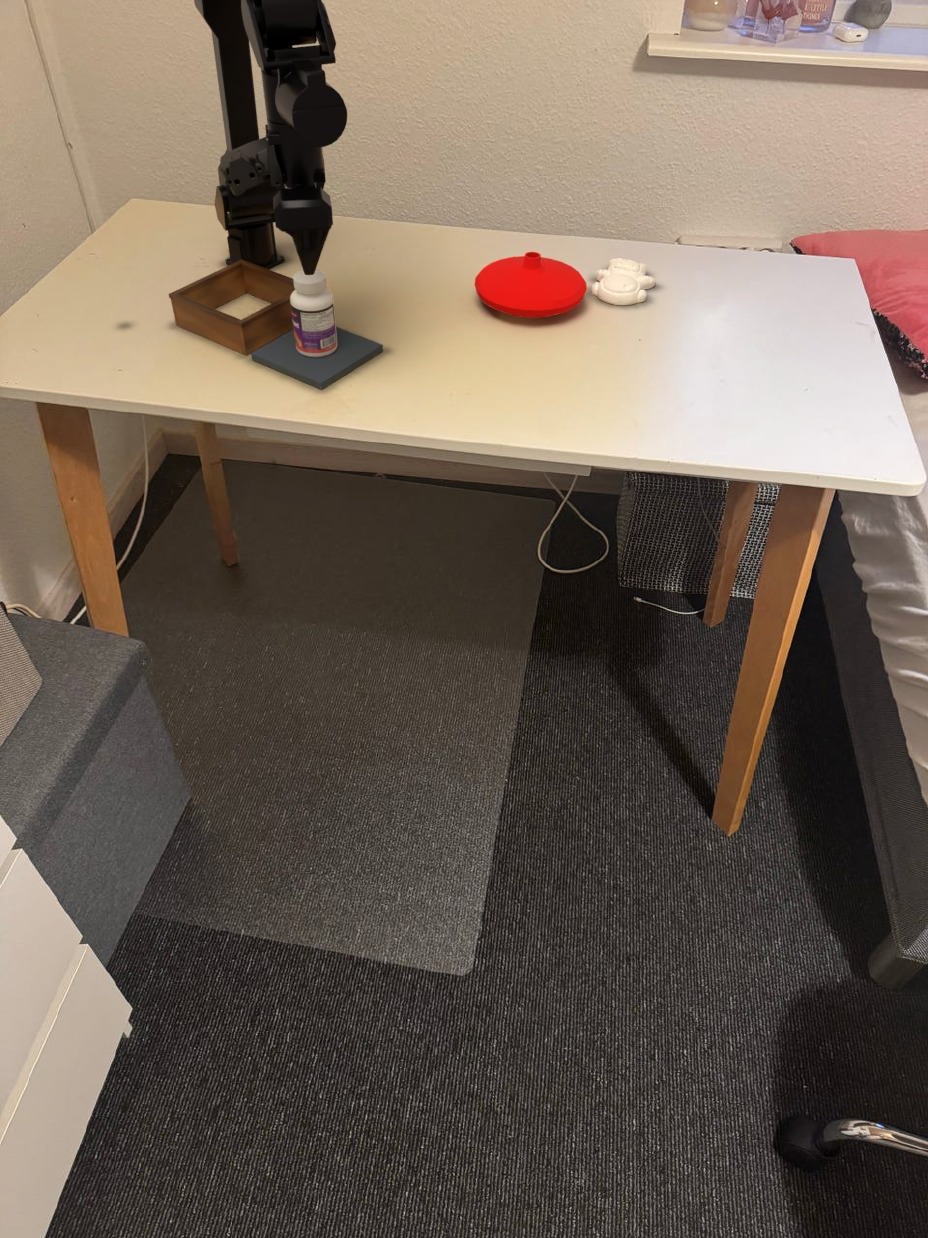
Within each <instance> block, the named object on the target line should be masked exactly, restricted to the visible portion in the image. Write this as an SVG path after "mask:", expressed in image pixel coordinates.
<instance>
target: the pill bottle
mask: <svg viewBox="0 0 928 1238" xmlns="http://www.w3.org/2000/svg"><path fill="white" fill-rule="evenodd" d="M292 278H293V282H294V288H295V290H294V291H293V292H292V294H291V296H290V304H291V313H292V321H293V329H294V337H295V344H296V349H297V351H298V352H299V353H300V354H302V355H304V356H307V357H324V356H327V355H330V354H332V353H333V352H334V351H335V350H336V348H337V333H336V327H337V326H336V325H337V323H336V311H335V299H334V295H333V292H332V291H331V290H330V289H329V288H328V287H327V286H328V285H327V284H328V282H327V275H326V273H325V272H324V271H322V270H321V269H318V268H316V270H315V273H314V274H313V275H305V274H304V271H303V269H300V270H298V271H296V272H295V273H294V274H293V275H292ZM293 329H292V330H293Z"/></svg>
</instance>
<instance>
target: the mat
mask: <svg viewBox="0 0 928 1238" xmlns="http://www.w3.org/2000/svg"><path fill="white" fill-rule="evenodd" d="M336 333H337V348H336V350H335V351H334V352H333V353H332V354H330V355H327V356H324V357H307V356H304V355H302V354H300V353H299V352H298V351H297V349H296V344H295V337H294V329H292V330H290V331H289V332H287V333H285V334H283V335H282V336H280V337H278V338H276V339H274V340H273V341H271V342H269V343H267V344H265V345H264V346H262V347H260V348H258V349H256V350H255V351H253V352H251V353H250V355H251V361H253V362H256V363H258V364H260V365H263V366H264V367H267V368H270V369H272V370H275V371H277V372H279V373H281V374H284V375H286V376H289V377H291V378H292V379H293V378H294V379H296V380H298V381H300V382H303V383H305V384H307V385H309V386H312V387H314V388H316V389H318V390H321V391H322V390H324V389H326V388H327V387H329V386H330V385H332V384H333V383H335V382H337V381H339V380H340V379H341V378H343V377H345V376H346V375H347V374H349V373H351V372H352V371H355V370H356V369H357V368H359V367H360V366H362V365H364V364H365V363H367V362H368V361H370V360H372V359H373V358H375V357H376V356H378V355H379V354H381V353H383V352H384V347H383V344H382V343H380V342H377V341H375V340H372V339H369V338H366V337H364V336H361V335H359V334H356V333H354V332H351V331H349V330H346V329H344V328H341V327H338V326H336Z"/></svg>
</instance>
